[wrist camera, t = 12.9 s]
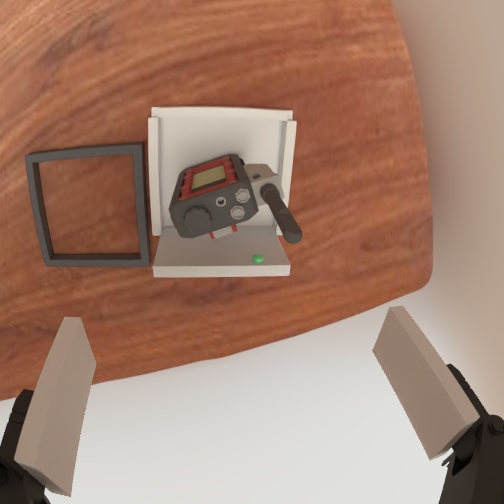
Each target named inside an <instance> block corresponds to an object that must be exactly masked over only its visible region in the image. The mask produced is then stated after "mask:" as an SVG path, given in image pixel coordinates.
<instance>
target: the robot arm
mask: <svg viewBox="0 0 504 504" xmlns="http://www.w3.org/2000/svg"><path fill="white" fill-rule="evenodd" d="M373 353H374V354H375V356H376V358H377V360H378V362H379V363H380V365H381V367H382V369H383V371H384V373H385V374H386V376H387V378H388V380H389V382H390V384H391V385H392V387H393V389H394V391H395V392H396V395H397V397H398V398H399V400H400V402H401V404H402V406H403V408H404V410H405V412H406V414H407V416H408V418H409V420H410V421H411V423H412V425H413V427H414V429H415V431H416V433H417V435H418V437H419V439H420V441H421V443H422V445H423V447H424V449H425V451H426V453H427V455H428V458H429V460H433V459H435V458H438V457H440V456H442V455H444V454H445V453H446V452H447V451H448V450H449V449H450V448H451V447H452V449H453V451H454V452H453V453H452V454H451V455H450V456H449V457H448V458H447V459H445V460H444V461H443V463H442V466H444V465H445V464H446V463H447V462H449V464H448V465H447V467H448V471H447V474H446V478H445V482H444V486H443V490H442V494H441V497H440V501H439V504H504V420H503V419H502V418H501V417H499V416H497V415H489V414H488V413H487V412H486V410H485V408H484V407H483V405H482V404H481V402H480V401H479V399H478V397H477V396H476V394H475V393H474V392H473V390H472V389H470V386H469V384H468V383H467V382H466V381H465V378H464V377H463V376H462V374H461V373H460V371H459V370H458V369H456V368H455V367H454V366H453V365H452V364H448V365H446V364H445V363H444V361H443V360H442V358H441V357H440V356H439V354H438V353H437V352H436V350H435V349H434V347H433V346H432V345H431V343H430V342H429V340H428V339H427V338H426V336H425V335H424V333H423V332H422V331H421V329H420V328H419V327H418V325H417V324H416V323H415V321H414V320H413V319H412V317H411V316H410V315H409V313H408V312H407V311H406V310H405V308H404V307H403V306H398V307H389V310H388V313H387V315H386V318H385V321H384V323H383V326H382V328H381V331H380V333H379V336H378V339H377V341H376V343H375V346H374V348H373ZM96 364H97V363H96V361H95V358H94V355H93V353H92V350H91V347H90V344H89V341H88V338H87V335H86V332H85V329H84V326H83V323H82V320H81V317H64V319H63V321H62V324H61V326H60V328H59V330H58V333H57V335H56V337H55V340H54V342H53V344H52V347H51V349H50V352H49V354H48V357H47V359H46V362H45V364H44V367H43V369H42V372H41V375H40V377H39V380H38V383H37V385H36V388H35V391H32V390H26V389H24V390H23V391H22V392H21V393H20V395H19V396H18V397H17V398H16V400H15V403H14V405H13V408H12V413H11V414H10V417H9V422H8V423H7V426H6V429H5V432H4V435H3V439H2V442H1V446H0V504H50V502H49V500H48V499H47V497H46V496H45V495H44V490H45V487H46V488H47V489H48V490H49V491H51V492H52V493H56V494H60V495H65V496H69V497H71V490H72V482H73V475H74V469H75V462H76V456H77V450H78V444H79V439H80V434H81V428H82V423H83V419H84V414H85V409H86V405H87V400H88V396H89V392H90V387H91V384H92V380H93V376H94V372H95V368H96Z"/></svg>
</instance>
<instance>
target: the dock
mask: <svg viewBox="0 0 504 504" xmlns="http://www.w3.org/2000/svg"><path fill="white" fill-rule="evenodd" d="M292 113H293V111H291V110H282V109H270V108H254V107H233V106H162V107H152V116H151V117H150V118H148V151H149V184H150V204H151V220H152V234H153V235H156V236H160V240H159V244H158V248H157V252H156V255H155V259H154V263H153V274H154V277H249V276H289V272H290V263H289V261H288V258H287V256H286V254H285V252H284V249H283V247H282V245H281V243H280V241H279V238H278V236H277V235H283V234H282V232H281V230H280V228H279V226H278V224H277V222H276V220H275V218H274V216H273V214H272V212H271V210H270V208H269V206H268V204H265V205H262V206H259V207H258V209H259V211H258V212H257V213H256V214H255V215H254V216H253V217H252V218H251V219H249V220H248V221H244V222H241V223H238V224H236V228H237V232H234V233H231V234H228V235H225V236H222V237H219V238H216V239H213V240H212V239H211V237H210V235H209V233H207V234H204V235H201V236H198V237H195V238H182V237H180V236H179V234H178V231H177V229H176V228H175V227H174V225H173V222H172V220H171V218H170V217H171V215H170V213H169V210H168V209H169V206H170V202H171V199H172V195H173V192H174V189H175V186H176V183H177V179H178V176H179V174H180V172H181V171H183V170H185V169H186V168H189V167H192V166H195V165H197V164H200V163H203V162H206V161H209V160H212V159H215V158H218V157H221V156H224V155H227V154H237V155H238V156H239V158H242V159H243V161H244V163H245V165H246V164H249V163H252V164H267V165H268V166H269V167H270V168H271V170H272V171H273V172H274V173H277V174H278V176H279V177H280V181H281V185H282V188H283V192H284V198H283V199H282V200H283V202H284V203H285V205H286V207H287V208H288V201H289V192H290V183H291V174H292V164H293V154H294V145H295V134H296V124H297V122H296V121H294V120H292Z"/></svg>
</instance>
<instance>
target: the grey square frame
mask: <svg viewBox="0 0 504 504" xmlns="http://www.w3.org/2000/svg"><path fill="white" fill-rule="evenodd" d="M126 154H133V165H134V185H135V200H136V214H137V225H138V236H139V245H140V254H54V252H53V248H52V244H51V239H50V234H49V229H48V224H47V219H46V214H45V208H44V202H43V196H42V189H41V182H40V174H39V166H38V162H44V161H53V160H62V159H72V158H83V157H95V156H109V155H126ZM25 160H26V169H27V177H28V184H29V191H30V197H31V203H32V208H33V214H34V219H35V224H36V229H37V233H38V238H39V242H40V246H41V251H42V255H43V259H44V262H45V266H51V267H150V264H151V252H150V241H149V229H148V216H147V200H146V181H145V151H144V142H142V143H123V144H108V145H96V146H84V147H74V148H65V149H56V150H48V151H41V152H34V153H30V154H28V155H26V156H25Z"/></svg>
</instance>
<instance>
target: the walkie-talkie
mask: <svg viewBox="0 0 504 504" xmlns="http://www.w3.org/2000/svg"><path fill="white" fill-rule="evenodd" d="M283 198H284V192H283V188H282V185H281V181H280V177H279V176H278V174H277V173H274V172H273V171H272V170H271V168H270V167H269V166H268V165H267V164H252V163H249V164H246V165H245V163H244V161H243V159H242V158H239V156H238V155H237V154H227V155H224V156H221V157H218V158H215V159H212V160H209V161H206V162H203V163H200V164H197V165H195V166H192V167H189V168H186V169H185V170H183V171H181V172H180V174H179V176H178V179H177V183H176V186H175V189H174V192H173V195H172V199H171V202H170V206H169V209H168V210H169V213H170V215H171V217H170V218H171V220H172V222H173V225H174V227H175V228H176V229H177V231H178V234H179V236H180V237H182V238H195V237H198V236H201V235H204V234H207V233H209V235H210V237H211V239H212V240H213V239H216V238H219V237H222V236H225V235H228V234H231V233H234V232H237V228H236V224H238V223H241V222H244V221H248V220H249V219H251V218H252V217H253V216H254V215H255V214H256V213H257V212H258V211H259V209H258V207H259V206H262V205H265V204H268V206H269V208H270V210H271V212H272V214H273V216H274V218H275V220H276V222H277V224H278V226H279V228H280V230H281V232H282V234H283V236H284V239H285V240H286V241H287V242H288V243H291V244H295V243H298V242H299V241H300V240H301V238H302V231H301V229H300V227H299V226H298V224H297V223H296V221H295V219H294V218H293V216H292V215H291V213H290V211H289V210H288V208H287V207H286V205H285V203H284V202H283V200H282V199H283Z"/></svg>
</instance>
